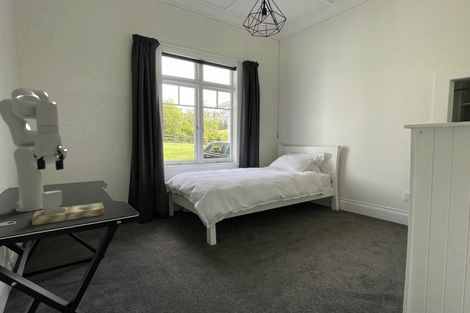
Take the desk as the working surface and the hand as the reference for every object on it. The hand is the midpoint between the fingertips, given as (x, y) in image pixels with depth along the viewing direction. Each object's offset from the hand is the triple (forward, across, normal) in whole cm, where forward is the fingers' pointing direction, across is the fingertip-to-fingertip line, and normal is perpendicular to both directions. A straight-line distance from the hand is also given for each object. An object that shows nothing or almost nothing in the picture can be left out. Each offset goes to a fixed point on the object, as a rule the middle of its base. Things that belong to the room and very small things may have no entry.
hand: (50, 169), depth 105 cm
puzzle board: (+22, +4, +5) cm, 23 cm away
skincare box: (+22, 0, 0) cm, 22 cm away
